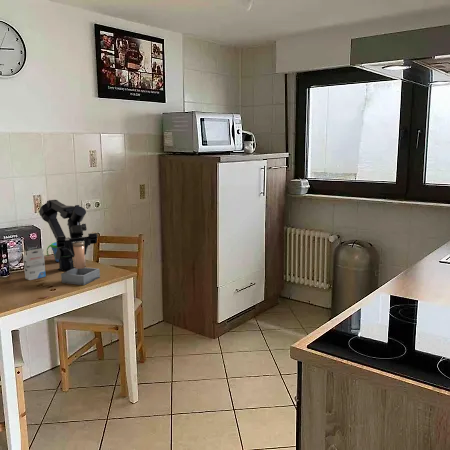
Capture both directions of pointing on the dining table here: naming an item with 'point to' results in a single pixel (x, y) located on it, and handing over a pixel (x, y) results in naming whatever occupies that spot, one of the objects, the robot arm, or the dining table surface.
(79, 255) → the jar
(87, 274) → the box
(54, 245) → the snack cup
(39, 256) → the ink box
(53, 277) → the dining table surface
